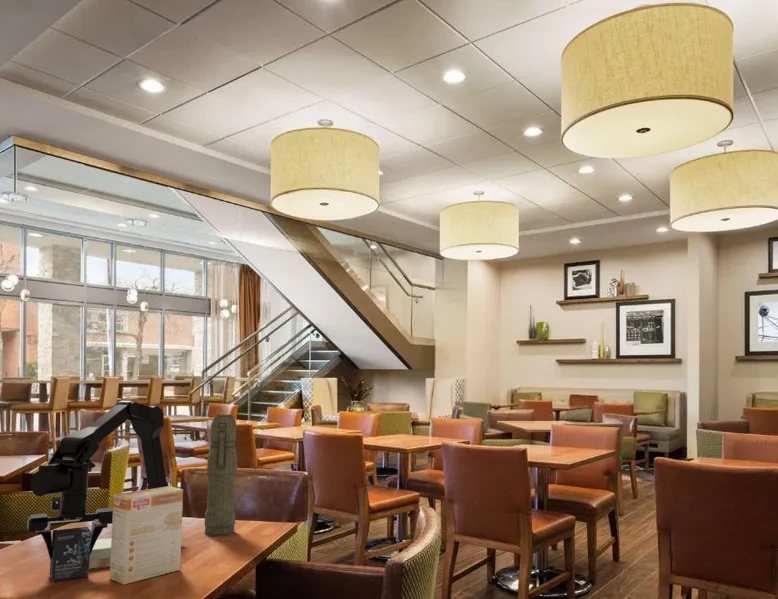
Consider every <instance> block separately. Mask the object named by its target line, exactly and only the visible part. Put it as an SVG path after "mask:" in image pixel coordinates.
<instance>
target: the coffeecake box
mask: <svg viewBox="0 0 778 599" xmlns="http://www.w3.org/2000/svg"><path fill="white" fill-rule="evenodd" d="M183 502H184V489H183V488H179V487H174V486H170V485H169V486H167V487H160V488H154V489H148V488H146V489H142V490H135V491H129V492H123V493H115V494H113V503H112V505H113V506H112V509H113V519H112V525H111V538H112V540H111V560H110V567H109V580H111V579H112V580H111V581H113V580H115V581H114V582H116V581H117V583H119V584H122V585H123V586H124V585H127V584H131V583H136V582H139V581H143V580H147V579H150V578H155V577H158V576H162V575H165V574H166V573H167V574H170V572H171V573H173V572H177V571H181V559H182V558H181V557H182V556H181V555H182V532H183V529H182V528H183V515H182V511H183V506H184V505H183ZM167 574H166V575H167Z"/></svg>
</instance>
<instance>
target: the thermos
mask: <svg viewBox="0 0 778 599" xmlns="http://www.w3.org/2000/svg"><path fill="white" fill-rule="evenodd" d="M236 439H237V422H236V419H235V416H234V415H232V414H216V415H214V416H213V418H212V421H211V423H210V440H209V441H210V445H209V452H208V453H207V461H206V463H207V464H206V473H207V477H208V478H207V484H208V485H207V500H206V501H207V504H206V505H207V506H206V511H205V513H204V535H205V536H209V537H227V536H230V535H233V534H234V533H235V524H236V511H235V486H236V485H235V484H236V483H235V482H236V474H237V472H238V454H237V450H236V448H237V447H236Z"/></svg>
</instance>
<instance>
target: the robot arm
mask: <svg viewBox="0 0 778 599" xmlns="http://www.w3.org/2000/svg"><path fill="white" fill-rule="evenodd" d="M127 421H129V422H130V423H131V427H132V430H133V432H134V433H135V434H136V436H138V438H139V439H140V443H141V450H142V455H143V461H144V462H143V463H144V470H145V475H146V483H147V489H154V488H160V487H167V486H170V485H168V482H167V478H166V477H167V476H166V469H165V463H164V457H163V450H162V443H161V438H160V435H161V433H162V430H163V428H164V426H165V425H164V424H165V422H164V421H165V418H164V411H163V409H162V408H161V407H159V406H158V405H145V404H142V403H139V402H136V401H134V400H120V401H117V403H116V404H115V405H114V406H113V407H111V409H109V410H108V411H107V412H106V413H104V414H102V415H101V416H100V417H99V418H97V419H96V420H95V421H93V422H92V423H91V424H89V426H86V427H85V428H81V429H79V430H76V431H73V432H71V433H69V434H67V435H65V436H64V437H63V438H62V439H61V440H60V442H59V445H58V446H57V448H56V450H55V451H54V453H53V454H52V456H51V458H50V460H49V461H48V463H47V464H40V465H39V466H38V470H36V471H35V473H34V474H33V475H32V477H31V479H30V489H31V492H32V493H33V495H35V496H37V497H44V496H48V495H53V494H59V493H60V496H51V504H50V511H51V512H57V514H58V516H48V513H46V512H45V513H36V514H30V515H29V516H28V517H27V527H26V528H27V532H32V533H33V532H35V534H36V535H37V536H38V535H39V536H41V537H42V539H43V540H44V542H45V543H44V544H45V545H46V549H47V553H48V557H49V560H51V559H52V554H53V552H52V530H51V526H54V525H55V526H56V525H66V524H76V523H89V522H91V529H90V531H91V544H90V554H91V552H92V550H93V547H94V545H95V543H96V540H98V539H99V536H100V535H101V533H102V532H103V530H104V529H106V528H108V525H110V524H112V519H113V507H105V508H96V510H95V512H93V513H92V512H90V513H89V512H88V513H87V504H88V484H89V469H92V468H94V469H95V468H96V466H97V465H96V463H94V462H93V461H92V460H91V458H92V457H93V456H94V455H95V454H96V452H98V450H99V449H100V446H101V443H102V442H103V440H105V439H106V438H107V437H108V436H109V435H111V434H112V433H113V432H114V431H116V430H117V429H118V428H119V427H120V426H122V425H123V424H124V423H126V422H127ZM183 515H184V511H183V510H182V516H183Z"/></svg>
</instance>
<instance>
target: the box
mask: <svg viewBox="0 0 778 599" xmlns="http://www.w3.org/2000/svg"><path fill="white" fill-rule="evenodd" d="M51 537H52V552H53V554H52V559H49V560H50V562H49V563H50V565H49V577H50V579H51V582H52V581H53V582H57V581H64V580H71V579H78V578H87V577H89V575H90V574H89V573H90V569H89V559H90V544H91V529H90V528H89V527H88V526H83V527H73V528H64V529H52V533H51Z"/></svg>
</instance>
